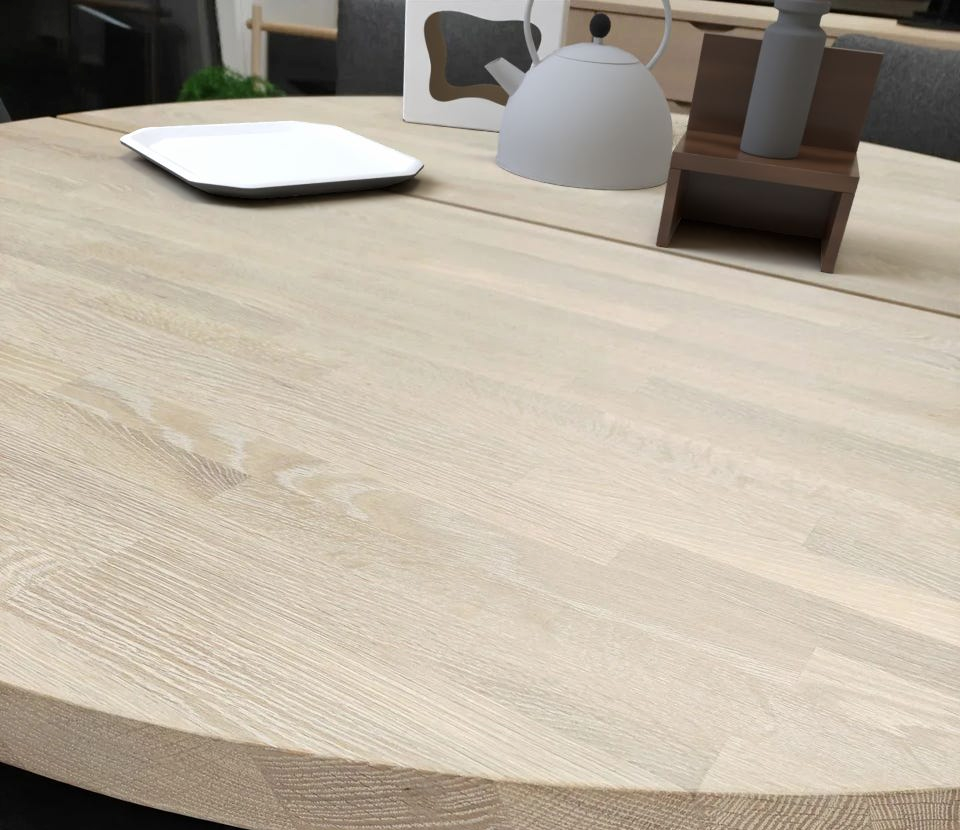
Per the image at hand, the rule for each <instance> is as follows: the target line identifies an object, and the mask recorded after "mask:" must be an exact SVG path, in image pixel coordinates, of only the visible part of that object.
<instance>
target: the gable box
mask: <svg viewBox="0 0 960 830" xmlns="http://www.w3.org/2000/svg"><path fill="white" fill-rule="evenodd" d="M526 3H527V0H405V10H404V11H405V15H404V17H405V18H404V22H405V24H404V53H403V55H404V56H403V63H404V64H403V91H402V93H403V96H402V97H403V98H402V99H403V100H402V121H403V122H404V123H411V124H420V125H429V126H437V127H439V126H440V127H447V128H448V127H449V128H457V129H465V130H475V131H484V132H494V133H499V132H500V126H501V121H502V117H503V114H504V110H505V107H506V105H507V102H508V99H509V97H510V96H509V94H508V93H507V92H506V91H505V90H504V89H503V87H502V86H501V85H497V84H492V83H491V84H490V83H479V84H473V85H466V86H455V85H452V84H450V83H449V82H448V81H447V79H446V68H447V63H448V47H447V43H446V40H445V36H444V33H443V29H442V25H441V14H442V12H457V13H462V14H465V15H466V14H467V15H470V16H473V17H476V18H479V19H483V20H487V21H491V22H504V21H505V22H506V21H521V22H522V21H523V22H524V12H525V7H526ZM570 8H571V0H534V2H533V5H532V10H531V16H530V24H533V25H534V26H536V27H537V28H538V30H539V32H540V35H541V40H540V44H539V46H538V49H537V50H536V52H537V54H538V57H539V60H540V61H541V60H542V59H543V58H545V57H546V56H548V55H550V54H552V53H554V51H556V50H558V49H560V48H562V47H565V46H566V43H567V34H568V24H569V17H570V16H569V15H570ZM533 66H534V63H533V61H532V63H531V65H530V68H529V70H530V69H531V68H532V67H533Z"/></svg>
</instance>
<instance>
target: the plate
mask: <svg viewBox="0 0 960 830" xmlns="http://www.w3.org/2000/svg"><path fill="white" fill-rule="evenodd" d="M119 142H120V144H121V145H123V146H124V147H126V148H127V149H129V150H131V151H132V152H134V153H135V154H137V155H139V156H141V157H143V158H144V159H146V160H148V161H150V162H151V163H153V164H155V165H156V166H158V167H160V168H161V169H163V170H165V171H166V172H168V173H169V174H171V175H173V176H175V177H177V178H178V179H179V180H181V181H183V182H185V183H187V184H188V185H191V186H192V187H194V188H197V189H199V190H201V191H203V192H206V193H208V194H211V193H212V194H211V195H214V194H218V195H217V196H221V195H225V196H224V197H229V196H233V197H232V198H237V197H242V198H241V199H245V198H249V199H248V200H266V199H265V198H269V199H276V198H275V197H280V198H285V197H284V196H291V197H296V196H295V195H302V196H308V195H307V194H313V195H321V194H320V193H324V194H333V193H332V192H336V193H344V192H345V193H346V192H347V193H348V192H355V191H356V192H357V191H368V190H379V189H380V190H381V189H383V188H387V187H390V186H393V185H396V184H399V183H402V182H404V181H408V180H410V179H414V178H416V177H417V176H418V174H419V173H420V172H421V171H422V170H423V169H424V167H425V163H424V162H423V161H422V160H421V159H418V158H416V157H413V156H411V155H409V154H407V153H404V152H401V151H398V150H397V149H394V148H391V147H389V146H387V145H384V144H382V143H379V142H377V141H375V140H372V139H371V138H368V137H366V136H362V135H360V134H358V133H356V132H353V131H352V130H351V131H350V130H349V129H346V128H344V127H341V126H338V125H334V124H324V123H317V122H309V121H300V120H277V121H276V120H275V121H257V122H256V121H255V122H235V123H231V122H230V123H215V124H213V123H212V124H193V125H190V124H189V125H174V126H173V125H170V126H169V125H167V126H151V127H149V126H148V127H142V128H141V127H140V128H139V129H136V130H134V131H132V132H130V133H128V134H125V135H123V136H121V137H120V139H119Z"/></svg>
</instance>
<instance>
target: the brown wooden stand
mask: <svg viewBox="0 0 960 830" xmlns="http://www.w3.org/2000/svg"><path fill="white" fill-rule="evenodd" d="M702 37H703V38H702V43H701V49H700V54H699V60H698V65H697V70H696V75H695V81H694V86H693V92H692V98H691V104H690V109H689V116H688V120H687V125H686V130H685V131H684V133H683V135H682V136H681V138H680V139H679V141H678V142H677V144H676V145H675V147H674V148H673V149H672V157H671V162H670V168H669V174H668V179H667V182H666V186H665V191H664V197H663V202H662V203H663V204H662V209H661V214H660V220H659V226H658V231H657V236H656V241H655V245H656V246H657V247H663V248H668V246H669V244H670V242H671V240H672V238H673V237H674V234H675V232H676V230H677V227H678V226H679V223H680V222H681V219H682V220H689V221H697V222H703V223H709V224H717V225H722V226H731V227H737V228H744V229H750V230H756V231H762V232H769V233H770V232H771V233H776V234H783V235H790V236H796V237H802V238H803V237H804V238H809V239H817V240H820V272H823V273H829V274H833V273H834V271H835V270H834V269H835V266H836V263H837V260H838V255H839V253H840V249H841V245H842V242H843V238H844V235H845V232H846V229H847V225H848V220H849V217H850V213H851V211H852V207H853V203H854V200H855V197H856V194H857V193H856V192H857V189H858V186H859V183H860V179H861V176H860V168H859V161H858V154H857V153H858V149H859V145H860V142H861V139H862V135H863V132H864V129H865V124H866V120H867V118H868V114H869V111H870V107H871V103H872V99H873V97H874V92H875V89H876V85H877V82H878V78H879V74H880V72H881V67H882V64H883V61H884V57H885V53H884V52H880V51H871V50H870V51H869V50H862V49H854V48H845V47H836V46H828V45H825V48H824V52H823V56H822V60H821V64H820V68H819V72H818V76H817V80H816V85H815V89H814V93H813V97H812V101H811V105H810V109H809V113H808V117H807V121H806V125H805V129H804V133H803V137H802V141H801V145H800V149H799V152H798V155H797V157H795V158H790V159H775V158H766V157H760V156H756V155H752V154H748V153H746V152H744V151H742V150H741V149H740V146H741V140H742V136H743V131H744V126H745V121H746V116H747V111H748V107H749V102H750V97H751V92H752V88H753V83H754V78H755V74H756V69H757V64H758V60H759V55H760V51H761V46H762V42H763V38H759V37H750V36H743V35H735V34H734V35H733V34H726V33H719V32H717V33H716V32H709V31H705V32H704V33H703V36H702Z"/></svg>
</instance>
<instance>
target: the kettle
mask: <svg viewBox="0 0 960 830" xmlns="http://www.w3.org/2000/svg"><path fill="white" fill-rule="evenodd" d="M533 2H534V0H527V3H526V7H525V12H524V21H523V34H524V37H525V42H526V45H527V46H526V47H527V49H528V52H529V55H530V58H531V60H532V62H533V63H534V66H533V67H532V68H531V69H530V68H529V69H528V70H527V71H526V72H524V71H522V70H521V69H520V68H518V67H517V66H515V65H514V64H512V63H511V62H510V61H508V60H506V59H505V58H504V57H498V58H496V59H494V60H492V61H490V62H488V63H487V64H486V65H484V68H485V69H486V70H487V72H489V74H490V75H491V76H492V77H493V78H494V80H495V81H496V82H497V83H498V85H499V86H501V87H503V89H504V90H505V91H506V92H507V93H508V94H509V96H510V97H509V99H508V102H507V105H506V107H505V110H504V114H503V117H502V121H501V126H500V132H498V139H497V151H496V156H495V162H496V164H497V165H498V166H499V167H500V168H502V169H503V170H505V171H507V172H509V173H511V174H514V175H517V176H519V177H523V178H526V179H530V180H533V181H537V182H542V183H547V184H552V185H559V186H562V187H563V186H564V187H571V188H579V189H591V190H609V191H621V190H623V191H625V190H641V189H649V188H650V189H651V188H654V187H659V186H661V185H664V184H665V183H667V179H668V174H669V168H670V162H671V157H672V152H673V149H674V147H673V146H674V127H673V120H672V114H671V110H670V106H669V103H668V100H667V97H666V95H665V92H664V91H663V89H662V87H661V86H660V84H659V82H658V81H657V80H656V77H655V76H654V75H653V74H652V73H651V71H652V70H653V68H655V67H656V65H657V64H658V63H659V62H660V60H661V59H662V57H663V56H664V54H665V52H666V50H667V48H668V46H669V43H670V40H671V35H672V27H673V14H672V13H673V12H672V6H671V1H670V0H661V3H662V5H663V9H664V17H665V18H664V19H665V20H664V21H665V26H664V34H663V38H662V41H661V43H660V45H659V47H658V49H657V51H656V53H655V54H654V56H653V57H652V58H651V60H650V61H649V62H648V63H647V64H646V65H644V64H643V63H642V62H641V61H640V60H639V58H637V57H636V56H635V55H633V53H631V52H628V51H626V50H624V49H622V48H619V47H617V46H615V45H613V44H607V43H604V38H606V37H607V36H608V35H609V34H610V32H611V28H612V21H611V19H610V17H609V16H608V15H607V14H606V13H603V12H599V13H596V14H594V15H593V16H592V18H591V19H590V20H589V21H590V22H589V32H590V34H591V35H592V36H593V42H579V43H575V44H570V45H565V47H562V48H560V49H558V50H556V51H554V53H552V54H550V55H548V56H546V57H545V58H543V59H542V60H541V61H540V60H539V57H538V54H537V49H536V46H535V43H534V39H533V35H532V29H531V23H530V16H531V10H532V5H533Z"/></svg>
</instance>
